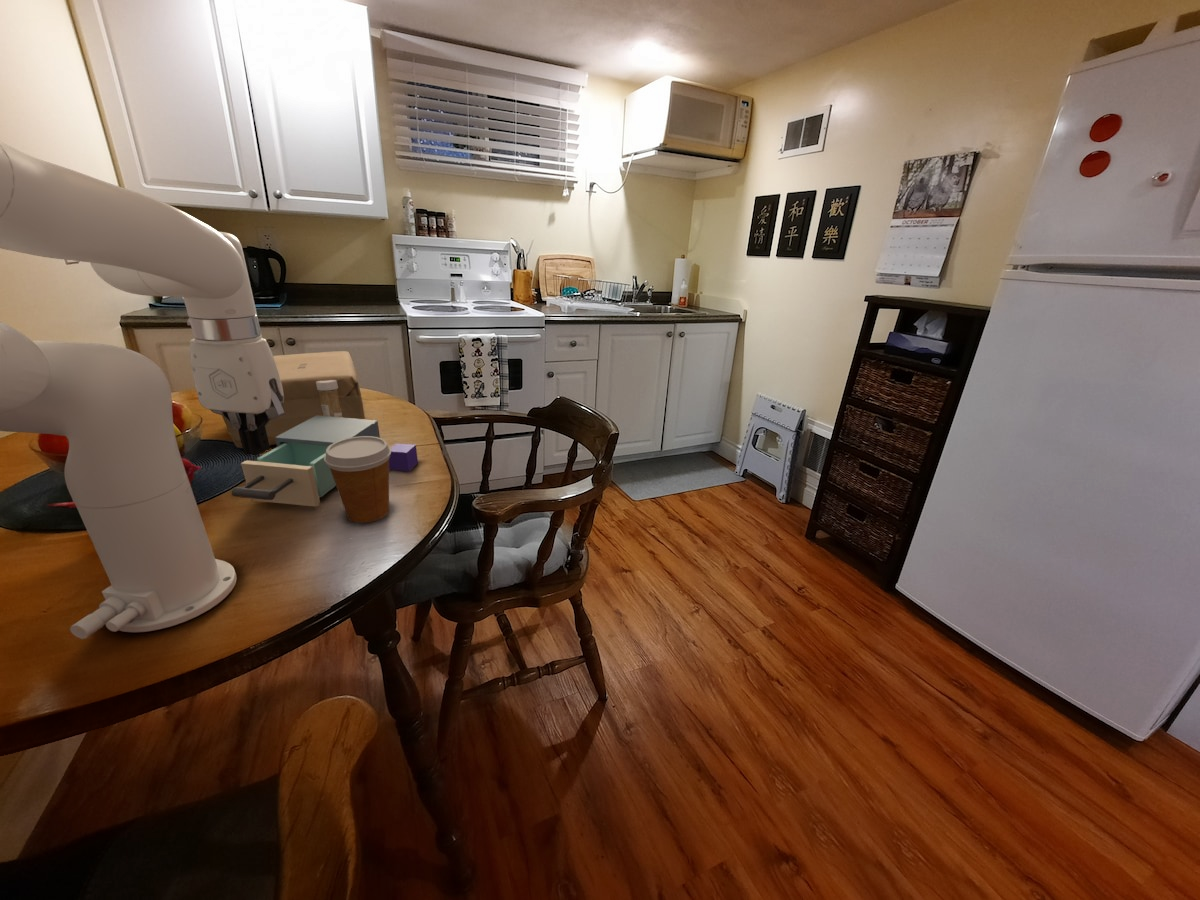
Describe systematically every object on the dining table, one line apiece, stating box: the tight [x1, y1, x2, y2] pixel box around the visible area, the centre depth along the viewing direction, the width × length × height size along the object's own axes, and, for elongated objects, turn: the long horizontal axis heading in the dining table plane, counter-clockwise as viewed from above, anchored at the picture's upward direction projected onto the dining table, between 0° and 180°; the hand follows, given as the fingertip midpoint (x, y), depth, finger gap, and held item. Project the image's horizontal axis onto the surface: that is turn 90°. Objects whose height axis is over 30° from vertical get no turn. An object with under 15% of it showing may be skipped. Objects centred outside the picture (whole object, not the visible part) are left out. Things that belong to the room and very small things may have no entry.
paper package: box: [221, 350, 366, 449], centre depth 111 cm, size 27×26×14 cm
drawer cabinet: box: [275, 415, 381, 447], centre depth 92 cm, size 12×13×9 cm
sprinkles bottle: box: [316, 380, 342, 417], centre depth 105 cm, size 5×5×14 cm
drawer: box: [231, 442, 337, 507], centre depth 81 cm, size 16×11×7 cm
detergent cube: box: [389, 442, 419, 472], centre depth 96 cm, size 4×4×4 cm
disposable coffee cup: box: [324, 436, 391, 524], centre depth 78 cm, size 10×10×12 cm
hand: (257, 451), depth 74 cm, fingers closed
